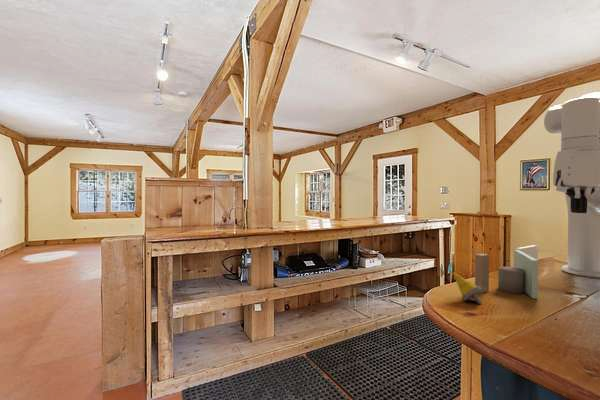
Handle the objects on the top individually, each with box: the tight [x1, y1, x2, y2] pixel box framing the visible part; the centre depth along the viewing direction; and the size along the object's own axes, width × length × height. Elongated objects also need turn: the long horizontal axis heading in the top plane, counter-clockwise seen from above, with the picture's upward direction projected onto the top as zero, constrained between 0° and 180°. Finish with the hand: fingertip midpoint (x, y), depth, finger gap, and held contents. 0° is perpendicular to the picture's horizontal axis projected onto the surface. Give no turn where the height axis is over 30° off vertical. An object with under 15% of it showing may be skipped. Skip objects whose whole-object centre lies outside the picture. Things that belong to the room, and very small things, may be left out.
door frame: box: [474, 244, 539, 294], centre depth 90 cm, size 28×2×10 cm, turn 115°
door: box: [513, 248, 539, 299], centre depth 85 cm, size 15×1×10 cm, turn 160°
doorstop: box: [497, 266, 525, 295], centre depth 85 cm, size 6×6×6 cm
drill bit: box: [452, 271, 483, 305], centre depth 78 cm, size 5×5×10 cm
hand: (578, 212), depth 82 cm, fingers closed
